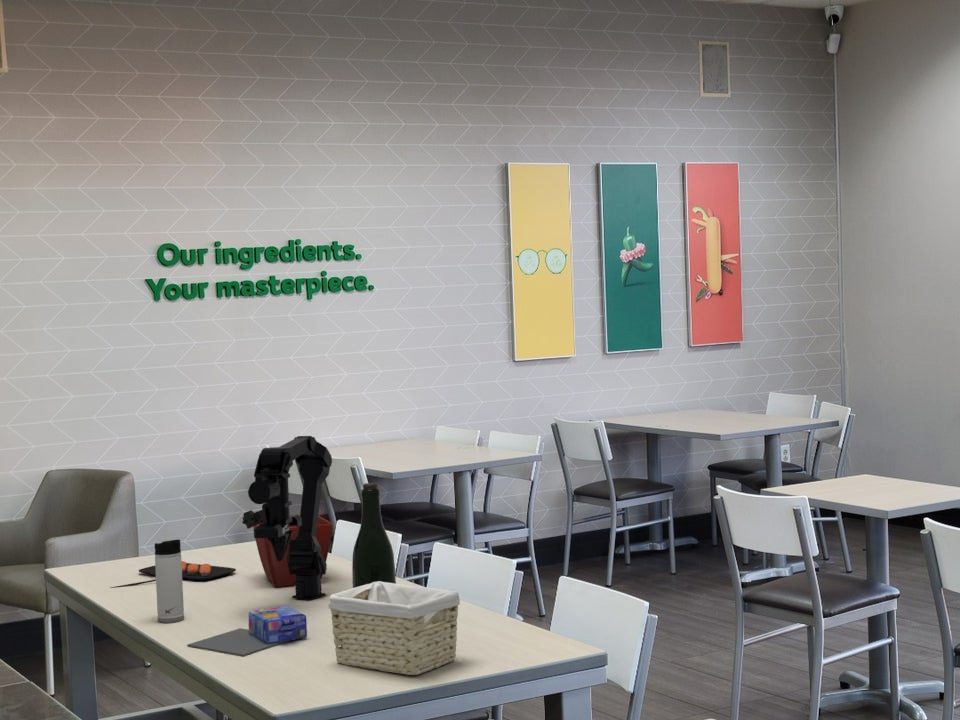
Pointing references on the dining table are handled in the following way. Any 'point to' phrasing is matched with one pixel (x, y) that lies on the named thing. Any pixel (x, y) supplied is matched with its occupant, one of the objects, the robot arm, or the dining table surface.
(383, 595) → the storage basket
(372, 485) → the green wine bottle
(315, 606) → the dining table surface
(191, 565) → the sushi plate
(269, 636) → the ink cartridge box
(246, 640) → the mat
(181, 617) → the travel mug
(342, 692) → the dining table surface
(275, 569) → the plant pot
